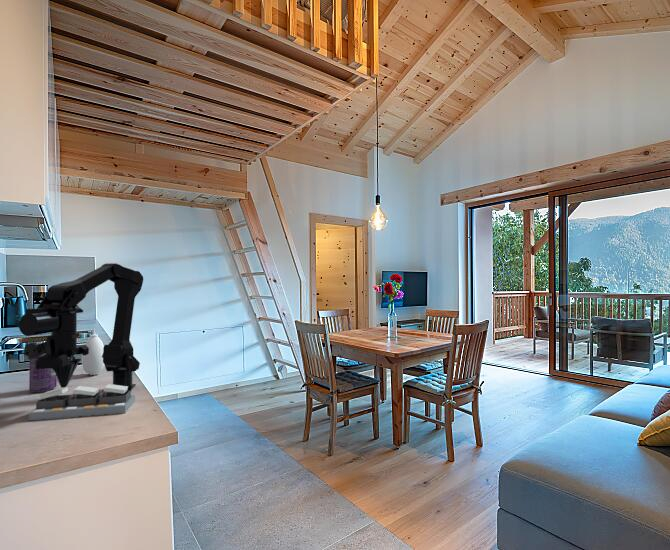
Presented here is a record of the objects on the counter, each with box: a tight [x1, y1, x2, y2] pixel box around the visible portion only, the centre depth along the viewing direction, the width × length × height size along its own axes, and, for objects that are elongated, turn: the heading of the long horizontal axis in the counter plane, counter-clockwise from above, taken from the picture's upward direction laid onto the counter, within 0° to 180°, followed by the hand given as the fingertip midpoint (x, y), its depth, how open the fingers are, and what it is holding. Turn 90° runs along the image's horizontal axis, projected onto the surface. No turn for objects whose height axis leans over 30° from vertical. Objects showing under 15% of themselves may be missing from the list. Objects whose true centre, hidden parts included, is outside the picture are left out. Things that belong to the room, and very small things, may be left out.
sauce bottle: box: [81, 327, 105, 376], centre depth 145 cm, size 8×8×18 cm
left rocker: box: [39, 386, 69, 399], centre depth 104 cm, size 4×5×1 cm
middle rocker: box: [72, 385, 100, 396], centre depth 106 cm, size 4×5×1 cm
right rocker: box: [103, 383, 128, 394], centre depth 108 cm, size 4×5×1 cm
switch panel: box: [28, 390, 136, 421], centre depth 106 cm, size 10×23×4 cm, turn 104°
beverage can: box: [28, 353, 58, 393], centre depth 125 cm, size 7×7×12 cm
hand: (63, 387), depth 105 cm, fingers closed
